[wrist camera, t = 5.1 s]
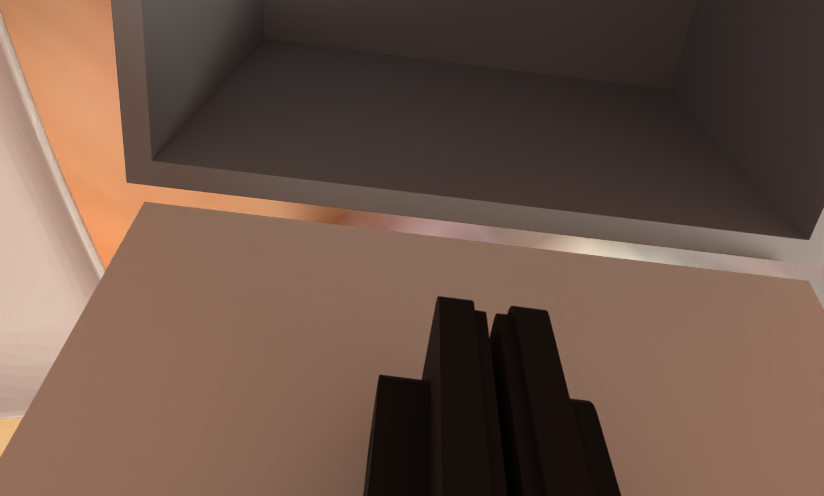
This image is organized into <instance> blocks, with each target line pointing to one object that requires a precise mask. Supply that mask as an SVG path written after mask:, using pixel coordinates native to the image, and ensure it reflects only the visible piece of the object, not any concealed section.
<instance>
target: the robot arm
mask: <svg viewBox="0 0 824 496" xmlns="http://www.w3.org/2000/svg"><path fill="white" fill-rule="evenodd" d="M363 496H621V493H620V490H619V486H618V483H617V479H616V476H615V472H614V469H613V466H612V462H611V459H610V455H609V452H608V448H607V445H606V442H605V438H604V435H603V431H602V428H601V424H600V421H599V417H598V414H597V411H596V409H595V406H594V404H593V403H592V402H590V401H587V400H579V399H571V398H570V396H569V392H568V388H567V384H566V380H565V376H564V372H563V368H562V364H561V360H560V356H559V352H558V348H557V344H556V340H555V336H554V332H553V328H552V324H551V320H550V316H549V313H548V311H547V310H542V309H534V308H526V307H519V306H511V307H510V308H509V310H508V313H507V314H500V313H497V314H496V315H495V317H494V321H493V325H492V329H491V333H490V338H489V330H488V322H487V314H486V312H485V311H478V310H475V307H474V301H473V300H466V299H458V298H450V297H443V296H438V297H437V300H436V304H435V309H434V315H433V320H432V326H431V331H430V336H429V342H428V347H427V353H426V358H425V363H424V369H423V374H422V379H421V380H419V379H411V378H403V377H395V376H387V375H379V377H378V383H377V390H376V396H375V403H374V410H373V417H372V424H371V432H370V439H369V447H368V456H367V464H366V473H365V483H364V492H363Z"/></svg>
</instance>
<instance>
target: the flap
mask: <svg viewBox="0 0 824 496" xmlns="http://www.w3.org/2000/svg"><path fill="white" fill-rule="evenodd" d="M438 296H443V297H450V298H458V299H466V300H473V301H474V307H475V310H478V311H485V312H486V314H487V322H488V330H489V338H490V333H491V329H492V325H493V321H494V317H495V315H496V314H497V313H500V314H507V313H508V310H509V308H510V307H511V306H519V307H526V308H534V309H542V310H547V311H548V313H549V316H550V320H551V324H552V328H553V332H554V336H555V340H556V344H557V348H558V352H559V356H560V360H561V364H562V368H563V372H564V376H565V380H566V384H567V388H568V392H569V396H570V398H571V399H579V400H587V401H590V402H592V403H593V404H594V406H595V409H596V411H597V414H598V417H599V421H600V424H601V428H602V431H603V435H604V438H605V442H606V445H607V448H608V452H609V455H610V459H611V462H612V466H613V469H614V472H615V476H616V479H617V483H618V486H619V490H620V493H621V496H824V310H823V308H822V306H821V304H820V302H819V300H818V298H817V296H816V294H815V292H814V291H813V289H812V287H811V285H810V283H809V281H804V280H796V279H787V278H779V277H770V276H762V275H754V274H745V273H737V272H729V271H720V270H712V269H703V268H695V267H687V266H678V265H670V264H661V263H653V262H645V261H636V260H628V259H619V258H611V257H603V256H594V255H586V254H577V253H569V252H561V251H552V250H544V249H536V248H527V247H519V246H510V245H502V244H494V243H485V242H477V241H468V240H460V239H452V238H443V237H435V236H426V235H418V234H410V233H401V232H393V231H385V230H376V229H368V228H359V227H351V226H343V225H334V224H326V223H317V222H309V221H301V220H292V219H284V218H275V217H267V216H259V215H250V214H242V213H234V212H225V211H217V210H208V209H200V208H192V207H183V206H175V205H166V204H158V203H150V202H144V204H143V205H142V207H141V209H140V211H139V213H138V214H137V216H136V218H135V220H134V221H133V223H132V225H131V227H130V228H129V230H128V232H127V234H126V236H125V237H124V239H123V241H122V243H121V244H120V246H119V248H118V250H117V252H116V253H115V255H114V257H113V259H112V260H111V262H110V264H109V266H108V268H107V269H106V271H105V273H104V275H103V276H102V278H101V280H100V282H99V284H98V285H97V287H96V289H95V291H94V292H93V294H92V296H91V298H90V300H89V301H88V303H87V305H86V307H85V308H84V310H83V312H82V314H81V315H80V317H79V319H78V321H77V323H76V324H75V326H74V328H73V330H72V331H71V333H70V335H69V337H68V339H67V340H66V342H65V344H64V346H63V347H62V349H61V351H60V353H59V355H58V356H57V358H56V360H55V362H54V363H53V365H52V367H51V369H50V371H49V372H48V374H47V376H46V378H45V379H44V381H43V383H42V385H41V387H40V388H39V390H38V392H37V394H36V395H35V397H34V399H33V401H32V402H31V404H30V406H29V408H28V410H27V411H26V413H25V415H24V417H23V418H22V420H21V422H20V424H19V426H18V427H17V429H16V431H15V433H14V434H13V436H12V438H11V440H10V442H9V443H8V445H7V447H6V449H5V450H4V452H3V454H2V456H1V458H0V496H363V492H364V483H365V473H366V464H367V456H368V447H369V439H370V432H371V424H372V417H373V410H374V403H375V396H376V390H377V383H378V377H379V375H387V376H395V377H403V378H411V379H419V380H421V379H422V374H423V369H424V363H425V358H426V353H427V347H428V342H429V336H430V331H431V326H432V320H433V315H434V309H435V304H436V300H437V297H438Z"/></svg>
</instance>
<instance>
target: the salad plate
mask: <svg viewBox="0 0 824 496" xmlns="http://www.w3.org/2000/svg"><path fill="white" fill-rule="evenodd" d="M105 271H106V269H105V267H104V265H103V263H102V261H101V259H100V256H99V254H98V252H97V250H96V247H95V245H94V243H93V241H92V239H91V236H90V234H89V232H88V230H87V227H86V225H85V223H84V221H83V218H82V216H81V214H80V212H79V209H78V207H77V205H76V203H75V200H74V198H73V196H72V194H71V191H70V189H69V187H68V185H67V182H66V180H65V178H64V176H63V173H62V171H61V169H60V166H59V164H58V162H57V159H56V157H55V154H54V152H53V149H52V147H51V145H50V142H49V140H48V137H47V135H46V132H45V130H44V127H43V125H42V122H41V119H40V117H39V114H38V112H37V109H36V106H35V103H34V101H33V98H32V95H31V93H30V90H29V87H28V84H27V82H26V79H25V76H24V74H23V71H22V68H21V65H20V63H19V60H18V57H17V55H16V52H15V49H14V46H13V44H12V41H11V38H10V35H9V33H8V30H7V27H6V24H5V22H4V19H3V16H2V14H1V11H0V419H10V418H23V417H24V415H25V413H26V411H27V410H28V408H29V406H30V404H31V402H32V401H33V399H34V397H35V395H36V394H37V392H38V390H39V388H40V387H41V385H42V383H43V381H44V379H45V378H46V376H47V374H48V372H49V371H50V369H51V367H52V365H53V363H54V362H55V360H56V358H57V356H58V355H59V353H60V351H61V349H62V347H63V346H64V344H65V342H66V340H67V339H68V337H69V335H70V333H71V331H72V330H73V328H74V326H75V324H76V323H77V321H78V319H79V317H80V315H81V314H82V312H83V310H84V308H85V307H86V305H87V303H88V301H89V300H90V298H91V296H92V294H93V292H94V291H95V289H96V287H97V285H98V284H99V282H100V280H101V278H102V276H103V275H104V273H105Z"/></svg>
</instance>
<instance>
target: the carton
mask: <svg viewBox="0 0 824 496" xmlns="http://www.w3.org/2000/svg"><path fill="white" fill-rule="evenodd" d="M111 6H112V17H113V29H114V41H115V52H116V64H117V75H118V87H119V98H120V110H121V122H122V133H123V145H124V156H125V168H126V180H127V183H134V184H143V185H151V186H159V187H168V188H176V189H184V190H193V191H201V192H209V193H218V194H226V195H235V196H243V197H251V198H260V199H268V200H276V201H285V202H293V203H301V204H310V205H318V206H326V207H335V208H343V209H351V210H360V211H368V212H376V213H385V214H393V215H401V216H410V217H418V218H427V219H435V220H443V221H452V222H460V223H468V224H477V225H485V226H493V227H502V228H510V229H518V230H527V231H535V232H543V233H552V234H560V235H568V236H577V237H585V238H594V239H602V240H610V241H619V242H627V243H635V244H644V245H652V246H660V247H669V248H677V249H685V250H694V251H702V252H710V253H719V254H727V255H735V256H744V257H752V258H760V259H769V260H777V261H786V262H794V263H802V264H811V265H819V266H824V0H111Z"/></svg>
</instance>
